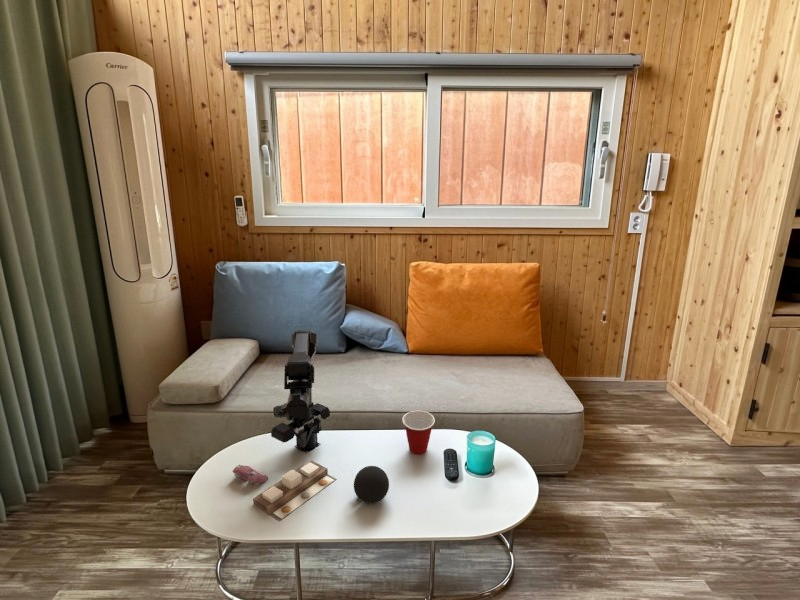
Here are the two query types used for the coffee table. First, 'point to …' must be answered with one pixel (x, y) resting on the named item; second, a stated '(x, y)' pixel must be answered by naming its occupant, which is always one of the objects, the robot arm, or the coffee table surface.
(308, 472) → the button
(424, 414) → the plastic cup
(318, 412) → the robot arm
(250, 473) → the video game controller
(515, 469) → the coffee table surface
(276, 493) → the button
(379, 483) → the speaker
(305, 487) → the button board
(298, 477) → the button middle
